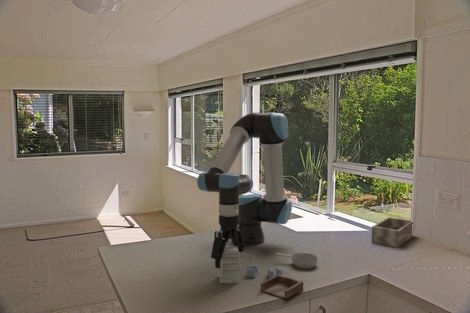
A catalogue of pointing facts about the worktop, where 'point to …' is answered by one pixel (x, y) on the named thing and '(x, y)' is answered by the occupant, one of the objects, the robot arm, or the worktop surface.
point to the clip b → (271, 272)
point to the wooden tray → (282, 286)
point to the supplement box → (230, 265)
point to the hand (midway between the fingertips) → (228, 271)
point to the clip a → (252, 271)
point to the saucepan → (302, 260)
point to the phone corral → (392, 232)
